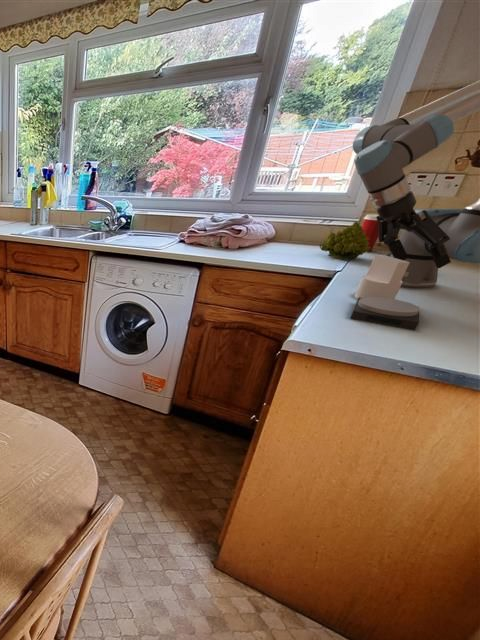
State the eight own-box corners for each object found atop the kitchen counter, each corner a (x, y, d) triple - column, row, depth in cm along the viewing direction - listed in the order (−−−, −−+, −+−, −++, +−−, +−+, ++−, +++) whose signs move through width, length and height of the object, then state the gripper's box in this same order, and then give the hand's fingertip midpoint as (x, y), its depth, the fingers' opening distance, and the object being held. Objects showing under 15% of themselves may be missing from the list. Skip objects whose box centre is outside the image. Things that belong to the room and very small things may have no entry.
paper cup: (372, 249, 185) (387, 214, 178) (375, 253, 179) (391, 217, 172) (349, 247, 189) (363, 213, 182) (351, 251, 183) (366, 216, 176)
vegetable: (360, 254, 161) (356, 216, 163) (315, 268, 176) (311, 233, 177) (384, 258, 166) (380, 221, 168) (338, 272, 181) (335, 237, 182)
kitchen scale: (355, 304, 126) (360, 293, 125) (415, 314, 119) (421, 302, 117) (350, 318, 117) (355, 306, 115) (414, 330, 109) (421, 317, 107)
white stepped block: (347, 294, 134) (363, 255, 128) (376, 294, 134) (394, 254, 128) (369, 303, 126) (388, 262, 121) (401, 303, 126) (421, 262, 120)
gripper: (345, 208, 130) (374, 266, 134) (416, 206, 107) (447, 276, 111) (372, 191, 127) (400, 251, 132) (450, 185, 104) (481, 257, 109)
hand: (422, 262), depth 122 cm, fingers open, 13 cm apart
